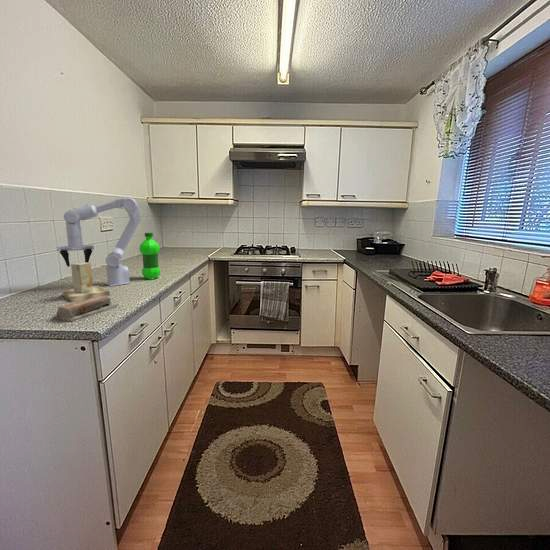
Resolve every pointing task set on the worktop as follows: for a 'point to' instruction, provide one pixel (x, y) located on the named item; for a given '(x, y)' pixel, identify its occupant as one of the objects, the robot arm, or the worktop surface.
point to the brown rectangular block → (85, 308)
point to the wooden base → (85, 294)
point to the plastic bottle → (150, 257)
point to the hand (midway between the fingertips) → (77, 265)
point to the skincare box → (82, 277)
